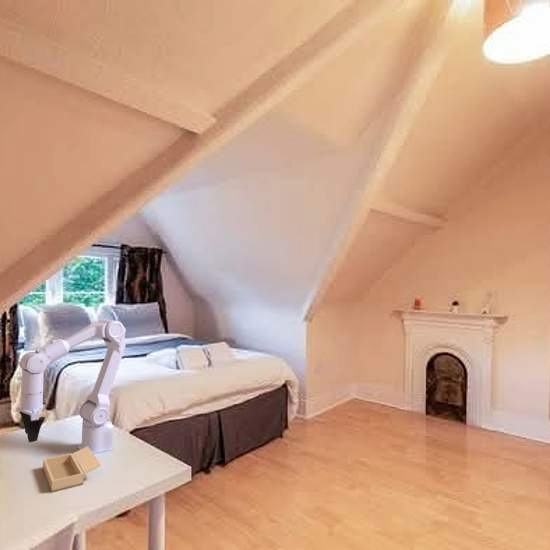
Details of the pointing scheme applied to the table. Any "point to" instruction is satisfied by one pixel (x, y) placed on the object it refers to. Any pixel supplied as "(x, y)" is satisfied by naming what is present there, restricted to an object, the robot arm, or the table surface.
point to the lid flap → (86, 460)
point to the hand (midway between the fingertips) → (31, 437)
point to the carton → (62, 472)
